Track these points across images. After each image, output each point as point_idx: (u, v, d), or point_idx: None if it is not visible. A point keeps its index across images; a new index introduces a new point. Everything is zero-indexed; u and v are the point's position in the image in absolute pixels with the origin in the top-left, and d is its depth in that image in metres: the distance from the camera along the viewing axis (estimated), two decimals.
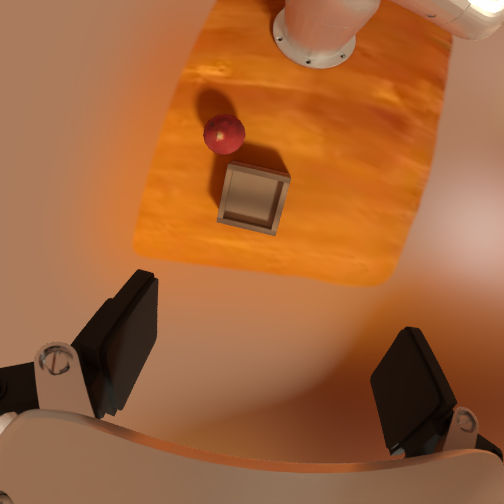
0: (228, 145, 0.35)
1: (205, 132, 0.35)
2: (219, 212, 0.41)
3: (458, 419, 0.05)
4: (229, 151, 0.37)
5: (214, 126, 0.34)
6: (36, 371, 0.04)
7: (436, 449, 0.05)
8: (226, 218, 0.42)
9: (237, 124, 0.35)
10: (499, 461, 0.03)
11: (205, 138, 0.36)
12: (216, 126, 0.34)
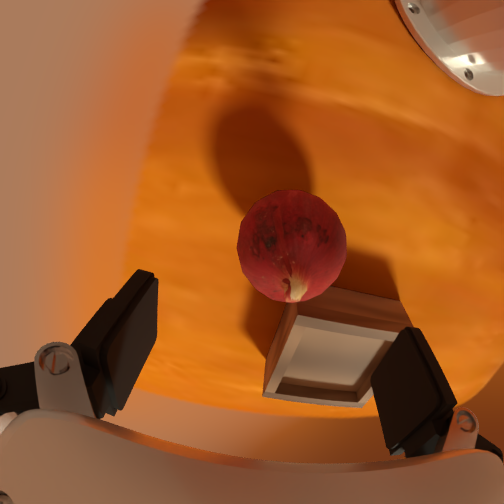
0: (311, 296, 0.13)
1: (245, 253, 0.13)
2: (269, 386, 0.20)
3: (458, 419, 0.05)
4: None
5: (276, 250, 0.12)
6: (36, 371, 0.04)
7: (436, 449, 0.05)
8: (281, 390, 0.20)
9: (338, 236, 0.13)
10: (499, 461, 0.03)
11: (244, 268, 0.14)
12: (283, 250, 0.12)
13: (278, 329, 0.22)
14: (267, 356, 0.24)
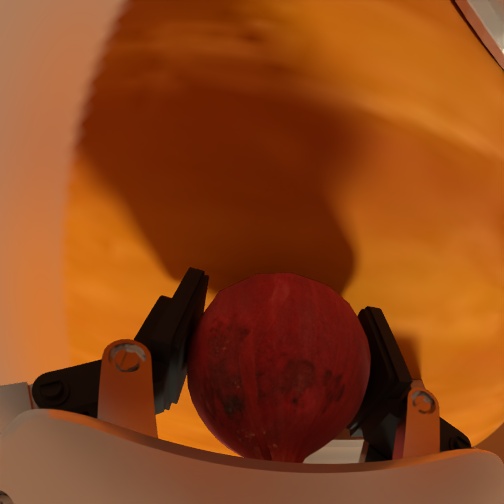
0: None
1: (195, 397, 0.07)
2: None
3: (414, 401, 0.06)
4: None
5: (244, 422, 0.05)
6: (107, 370, 0.05)
7: (397, 438, 0.05)
8: None
9: (360, 375, 0.06)
10: (499, 461, 0.03)
11: None
12: (256, 425, 0.05)
13: None
14: None
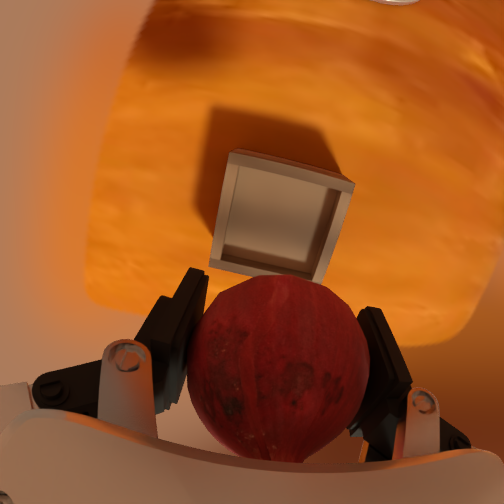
0: None
1: (195, 399, 0.07)
2: (213, 249, 0.21)
3: (414, 401, 0.06)
4: None
5: (243, 423, 0.05)
6: (107, 370, 0.05)
7: (397, 438, 0.05)
8: (227, 259, 0.22)
9: (359, 376, 0.06)
10: (499, 461, 0.03)
11: None
12: (255, 427, 0.05)
13: None
14: None
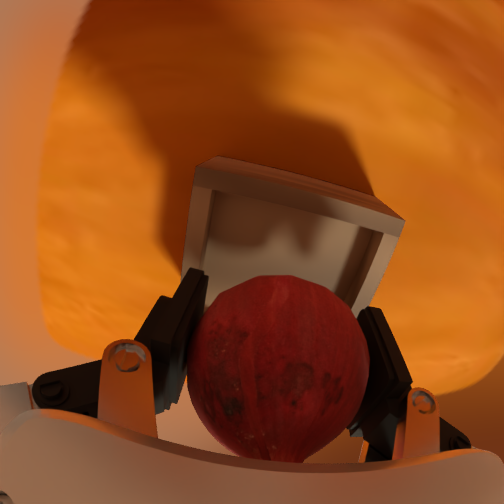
0: None
1: (195, 399, 0.07)
2: None
3: (414, 401, 0.06)
4: None
5: (243, 423, 0.05)
6: (107, 370, 0.05)
7: (397, 438, 0.05)
8: None
9: (359, 377, 0.06)
10: (499, 461, 0.03)
11: None
12: (255, 427, 0.05)
13: None
14: None
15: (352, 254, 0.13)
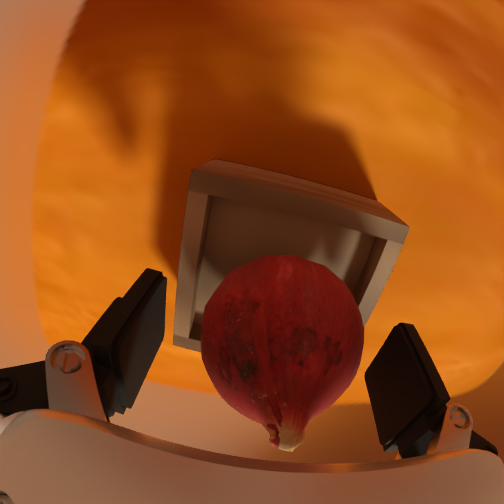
0: None
1: (210, 367, 0.08)
2: (177, 323, 0.13)
3: (451, 415, 0.05)
4: None
5: (258, 384, 0.07)
6: (48, 370, 0.05)
7: (430, 447, 0.05)
8: (200, 336, 0.14)
9: (355, 343, 0.08)
10: (499, 461, 0.03)
11: (211, 380, 0.09)
12: (268, 387, 0.07)
13: None
14: None
15: (354, 261, 0.12)
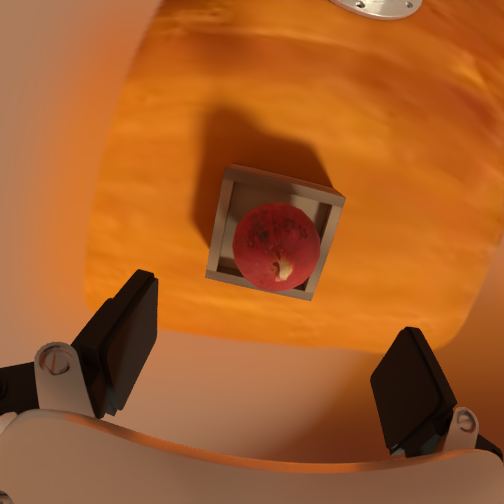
0: (293, 283, 0.17)
1: (241, 247, 0.17)
2: (210, 261, 0.22)
3: (458, 419, 0.05)
4: (288, 289, 0.18)
5: (268, 241, 0.16)
6: (36, 371, 0.04)
7: (436, 449, 0.05)
8: (223, 271, 0.23)
9: (314, 235, 0.17)
10: (499, 461, 0.03)
11: (239, 260, 0.17)
12: (273, 241, 0.15)
13: None
14: None
15: (316, 221, 0.22)
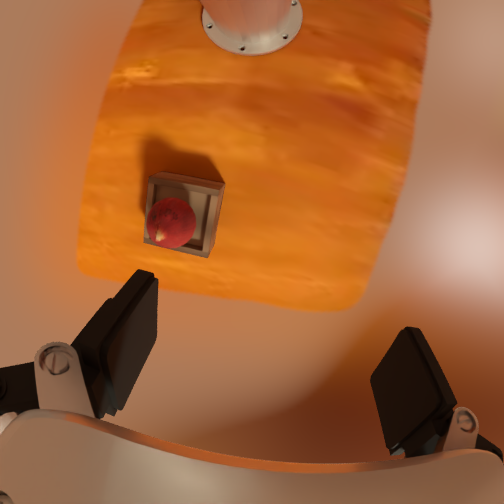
0: (171, 244, 0.30)
1: (147, 222, 0.30)
2: (145, 232, 0.35)
3: (458, 419, 0.05)
4: (174, 247, 0.31)
5: (155, 220, 0.28)
6: (36, 371, 0.04)
7: (436, 449, 0.05)
8: None
9: (184, 218, 0.29)
10: (499, 461, 0.03)
11: (147, 229, 0.30)
12: (157, 220, 0.28)
13: None
14: None
15: (206, 205, 0.34)
